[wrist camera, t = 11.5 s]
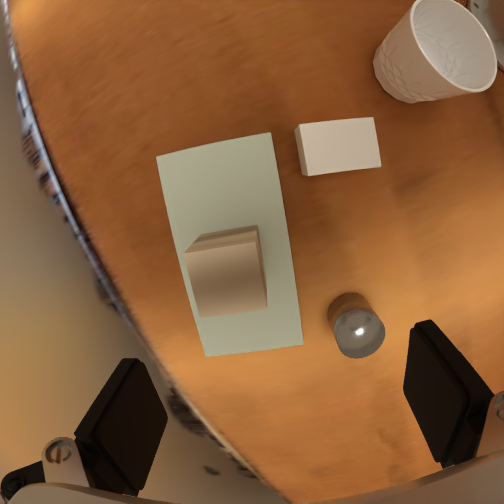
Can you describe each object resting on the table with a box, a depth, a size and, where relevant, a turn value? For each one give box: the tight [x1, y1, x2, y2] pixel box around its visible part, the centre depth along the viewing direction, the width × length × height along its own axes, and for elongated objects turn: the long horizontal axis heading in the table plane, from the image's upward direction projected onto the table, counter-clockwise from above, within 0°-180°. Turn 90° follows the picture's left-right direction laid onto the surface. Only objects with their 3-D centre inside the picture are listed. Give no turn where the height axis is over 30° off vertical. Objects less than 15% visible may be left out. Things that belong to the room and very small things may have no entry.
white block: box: [294, 117, 381, 176], centre depth 24 cm, size 4×6×4 cm, turn 100°
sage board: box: [156, 132, 304, 357], centre depth 28 cm, size 20×10×1 cm, turn 10°
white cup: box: [373, 0, 497, 104], centre depth 18 cm, size 8×8×10 cm
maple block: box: [183, 225, 267, 318], centre depth 24 cm, size 5×5×6 cm
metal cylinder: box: [328, 293, 385, 358], centre depth 27 cm, size 4×4×5 cm
